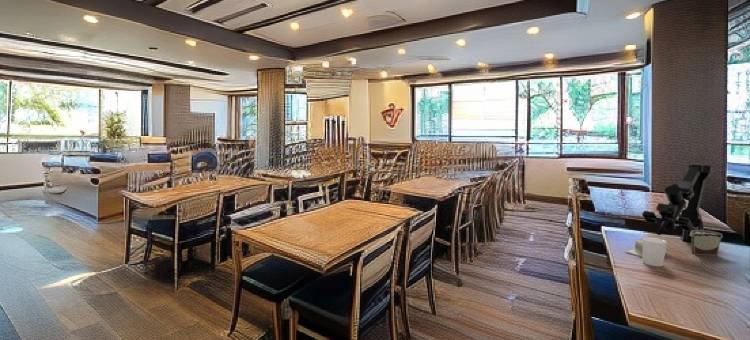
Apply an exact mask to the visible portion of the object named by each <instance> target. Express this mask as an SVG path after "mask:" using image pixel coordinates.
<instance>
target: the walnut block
mask: <svg viewBox="0 0 750 340" xmlns="http://www.w3.org/2000/svg"><path fill="white" fill-rule="evenodd" d="M634 245H635V246H634V249H635V252H639V253H642V254H643V238H641V239H637V240H636V239H635V243H634Z"/></svg>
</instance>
